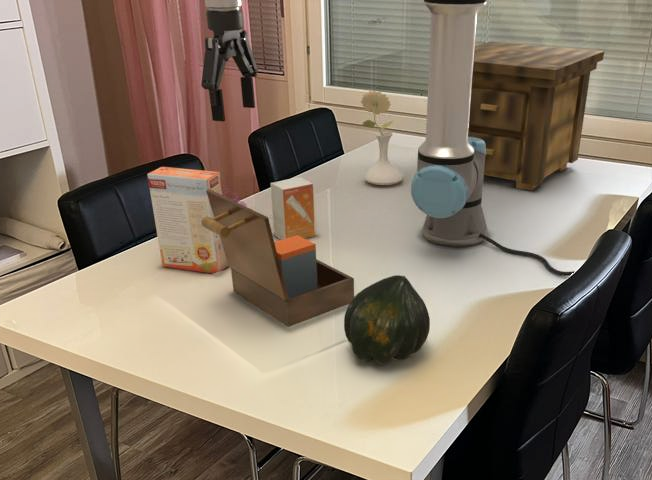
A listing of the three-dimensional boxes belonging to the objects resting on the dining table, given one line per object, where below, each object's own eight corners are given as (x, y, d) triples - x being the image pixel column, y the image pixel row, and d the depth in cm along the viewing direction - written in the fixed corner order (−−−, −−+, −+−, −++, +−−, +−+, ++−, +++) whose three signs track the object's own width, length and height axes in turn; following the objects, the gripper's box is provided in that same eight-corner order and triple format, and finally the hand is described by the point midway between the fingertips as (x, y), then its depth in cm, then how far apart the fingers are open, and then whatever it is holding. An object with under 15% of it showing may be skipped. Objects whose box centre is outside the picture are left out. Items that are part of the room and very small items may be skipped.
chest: (296, 273, 155) (295, 248, 152) (354, 305, 142) (354, 278, 139) (233, 294, 146) (230, 268, 143) (289, 330, 133) (287, 302, 130)
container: (300, 285, 148) (297, 234, 142) (318, 295, 144) (315, 243, 138) (267, 297, 143) (263, 245, 138) (284, 307, 139) (280, 254, 134)
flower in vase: (410, 180, 209) (412, 90, 196) (390, 191, 201) (391, 97, 188) (372, 173, 215) (372, 85, 202) (351, 183, 207) (349, 92, 194)
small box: (286, 243, 169) (282, 189, 162) (273, 235, 173) (269, 182, 166) (316, 236, 172) (313, 183, 166) (303, 228, 177) (300, 176, 170)
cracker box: (231, 264, 159) (221, 170, 148) (218, 275, 154) (206, 179, 143) (176, 256, 163) (162, 164, 152) (161, 267, 158) (145, 172, 147)
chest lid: (209, 188, 133) (179, 202, 130) (268, 217, 120) (236, 232, 117) (232, 265, 143) (205, 279, 140) (288, 299, 130) (260, 314, 127)
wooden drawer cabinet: (586, 166, 220) (604, 51, 202) (540, 198, 195) (556, 69, 178) (483, 149, 237) (491, 41, 220) (428, 176, 212) (433, 57, 195)
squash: (315, 332, 121) (370, 281, 112) (352, 298, 133) (405, 249, 124) (372, 394, 122) (431, 348, 113) (404, 355, 134) (460, 310, 125)
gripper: (237, 2, 161) (246, 101, 172) (174, 14, 141) (189, 125, 152) (267, 3, 159) (274, 103, 170) (208, 15, 139) (220, 128, 150)
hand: (234, 114), depth 161 cm, fingers open, 13 cm apart
